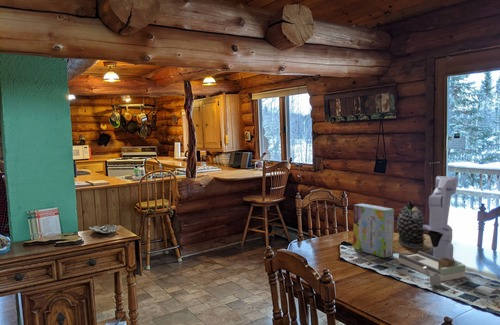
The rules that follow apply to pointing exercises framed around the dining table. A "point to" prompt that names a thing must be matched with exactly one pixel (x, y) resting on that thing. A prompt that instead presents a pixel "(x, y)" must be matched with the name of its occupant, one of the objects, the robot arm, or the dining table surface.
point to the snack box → (373, 229)
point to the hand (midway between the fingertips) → (435, 246)
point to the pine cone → (411, 227)
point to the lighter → (433, 277)
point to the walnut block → (445, 263)
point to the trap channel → (432, 265)
